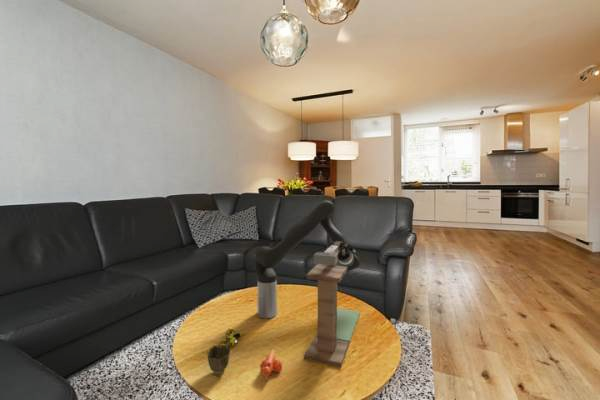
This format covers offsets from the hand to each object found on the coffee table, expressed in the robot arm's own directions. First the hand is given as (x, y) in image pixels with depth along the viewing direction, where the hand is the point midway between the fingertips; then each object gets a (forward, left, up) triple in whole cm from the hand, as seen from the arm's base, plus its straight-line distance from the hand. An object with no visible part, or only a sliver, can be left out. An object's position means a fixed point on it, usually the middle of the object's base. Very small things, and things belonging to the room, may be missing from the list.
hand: (336, 244), depth 121 cm
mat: (+5, +7, -39) cm, 40 cm away
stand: (-8, -12, -39) cm, 41 cm away
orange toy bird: (-31, -17, -39) cm, 53 cm away
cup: (-48, -14, -39) cm, 64 cm away
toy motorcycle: (-44, +4, -39) cm, 59 cm away
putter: (-4, -6, -3) cm, 8 cm away
